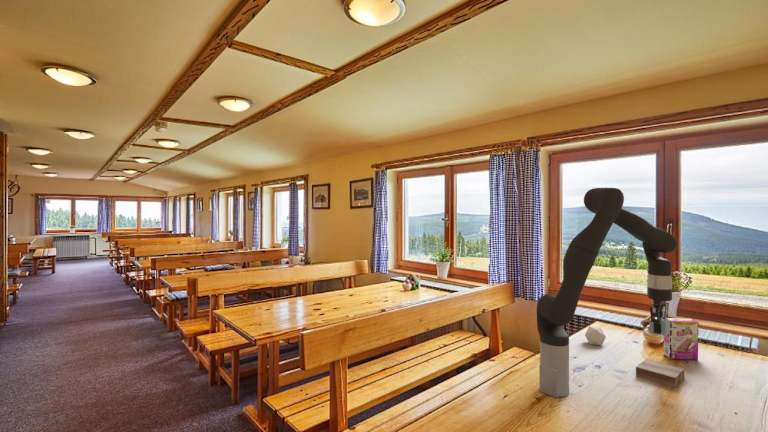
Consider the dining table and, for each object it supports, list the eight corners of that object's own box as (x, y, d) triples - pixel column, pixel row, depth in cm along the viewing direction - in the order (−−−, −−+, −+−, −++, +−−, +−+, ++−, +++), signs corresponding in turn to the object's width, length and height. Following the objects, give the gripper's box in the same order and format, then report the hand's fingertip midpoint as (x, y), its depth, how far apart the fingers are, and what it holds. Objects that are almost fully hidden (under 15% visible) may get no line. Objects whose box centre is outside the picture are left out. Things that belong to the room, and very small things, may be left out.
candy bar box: (670, 359, 154) (670, 320, 154) (662, 355, 159) (662, 317, 159) (699, 360, 153) (699, 321, 153) (690, 356, 158) (690, 318, 158)
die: (599, 350, 167) (611, 332, 168) (581, 337, 172) (592, 320, 172) (597, 350, 174) (609, 334, 175) (580, 338, 179) (591, 322, 179)
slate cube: (665, 335, 134) (665, 322, 134) (649, 332, 138) (649, 319, 138) (669, 333, 137) (669, 319, 137) (653, 329, 141) (653, 316, 141)
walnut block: (675, 389, 129) (675, 377, 129) (635, 377, 139) (635, 366, 139) (684, 379, 137) (684, 368, 137) (646, 368, 146) (646, 358, 146)
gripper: (666, 290, 130) (666, 338, 130) (677, 285, 139) (677, 330, 139) (641, 287, 136) (641, 333, 136) (653, 282, 145) (653, 325, 145)
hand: (659, 331), depth 138 cm, fingers closed on slate cube, 5 cm apart
